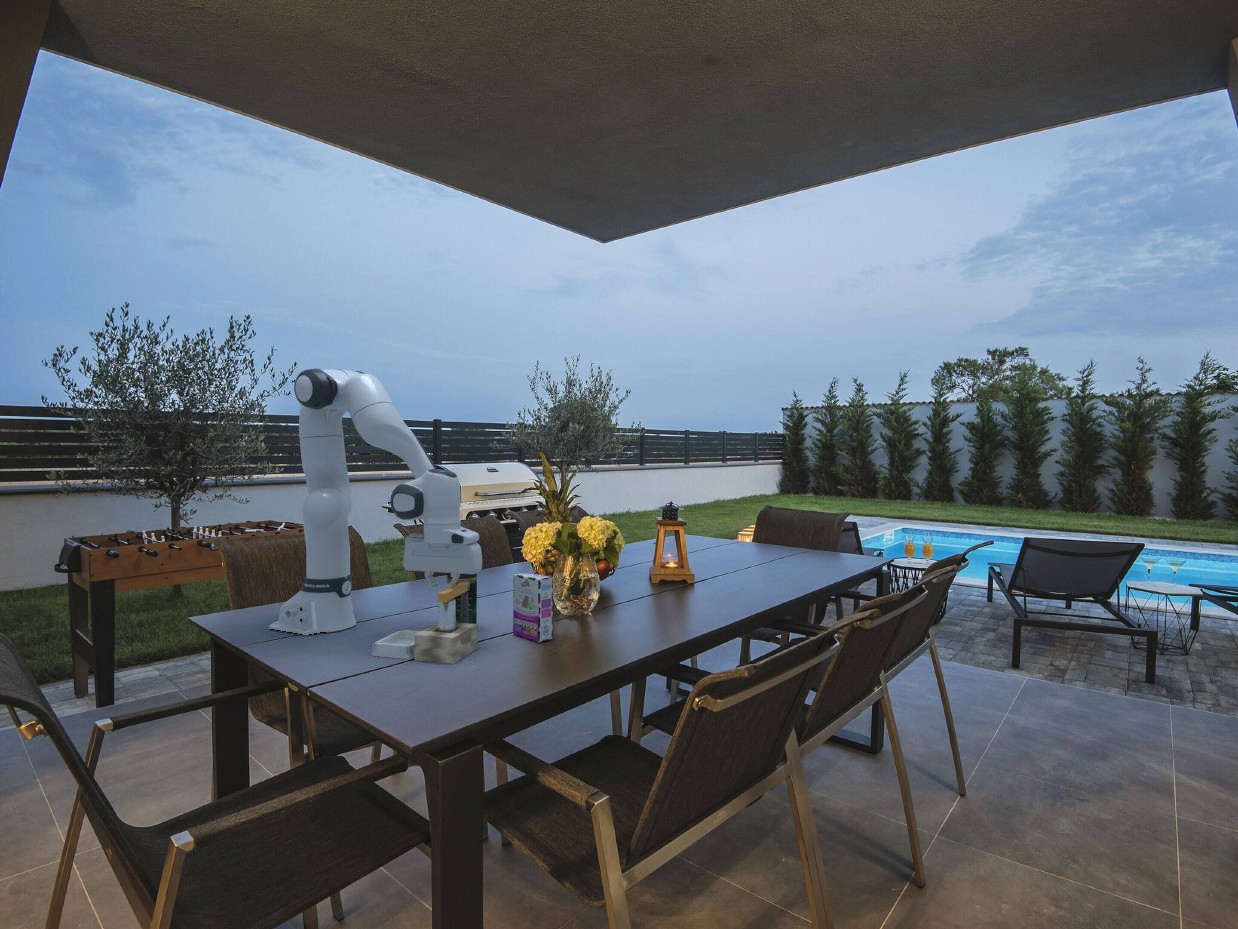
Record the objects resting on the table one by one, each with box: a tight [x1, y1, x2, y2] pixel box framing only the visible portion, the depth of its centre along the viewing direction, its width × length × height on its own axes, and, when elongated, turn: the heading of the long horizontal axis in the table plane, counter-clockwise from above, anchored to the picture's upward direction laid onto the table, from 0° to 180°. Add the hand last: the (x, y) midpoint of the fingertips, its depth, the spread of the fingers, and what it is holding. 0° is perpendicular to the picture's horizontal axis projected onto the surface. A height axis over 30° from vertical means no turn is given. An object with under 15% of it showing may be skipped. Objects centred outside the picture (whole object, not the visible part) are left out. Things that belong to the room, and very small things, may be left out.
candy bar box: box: [512, 572, 554, 644], centre depth 161 cm, size 11×5×16 cm, turn 47°
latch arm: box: [437, 582, 470, 603], centre depth 150 cm, size 2×14×2 cm, turn 171°
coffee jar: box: [446, 573, 478, 625], centre depth 167 cm, size 10×8×19 cm
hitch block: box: [414, 591, 478, 665], centre depth 149 cm, size 10×17×13 cm, turn 167°
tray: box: [371, 629, 422, 660], centre depth 150 cm, size 10×12×3 cm
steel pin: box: [437, 599, 456, 633], centre depth 147 cm, size 4×4×13 cm
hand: (442, 589), depth 153 cm, fingers open, 3 cm apart
